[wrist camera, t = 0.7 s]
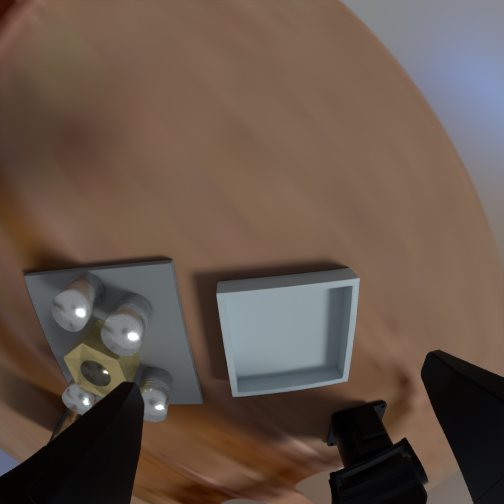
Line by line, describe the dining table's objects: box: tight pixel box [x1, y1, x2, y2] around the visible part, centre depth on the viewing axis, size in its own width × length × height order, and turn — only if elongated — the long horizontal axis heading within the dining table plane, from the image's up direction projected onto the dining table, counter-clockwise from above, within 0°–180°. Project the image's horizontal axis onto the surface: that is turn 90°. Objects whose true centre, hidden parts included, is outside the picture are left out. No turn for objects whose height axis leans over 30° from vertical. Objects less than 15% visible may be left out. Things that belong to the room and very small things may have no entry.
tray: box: [216, 268, 360, 397], centre depth 22 cm, size 10×10×2 cm
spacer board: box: [24, 259, 203, 404], centre depth 22 cm, size 14×14×1 cm
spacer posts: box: [51, 272, 173, 422], centre depth 20 cm, size 14×10×4 cm
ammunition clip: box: [49, 407, 82, 442], centre depth 21 cm, size 11×2×12 cm, turn 140°
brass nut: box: [63, 318, 140, 397], centre depth 20 cm, size 6×5×4 cm
